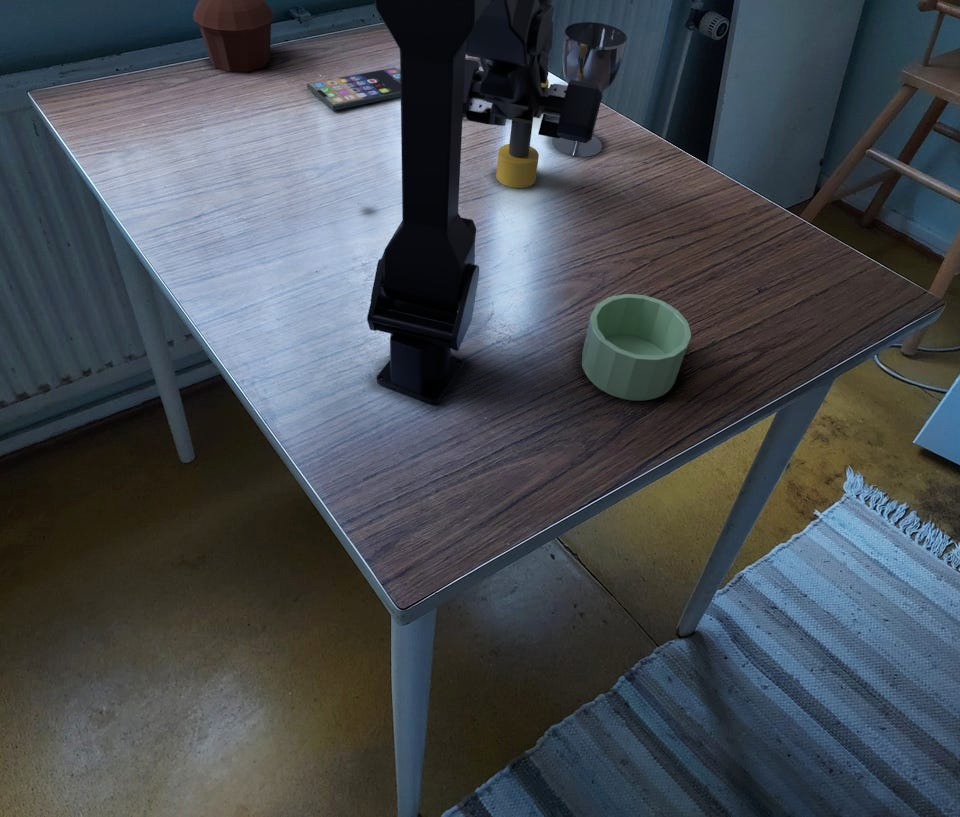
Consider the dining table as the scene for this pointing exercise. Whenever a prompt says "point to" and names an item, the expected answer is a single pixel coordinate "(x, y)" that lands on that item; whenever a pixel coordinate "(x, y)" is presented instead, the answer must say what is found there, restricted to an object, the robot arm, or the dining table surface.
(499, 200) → the dining table surface
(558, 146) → the wine glass
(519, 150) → the dumbbell
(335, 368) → the dining table surface
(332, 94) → the smartphone
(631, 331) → the pot
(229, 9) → the muffin
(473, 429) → the dining table surface
